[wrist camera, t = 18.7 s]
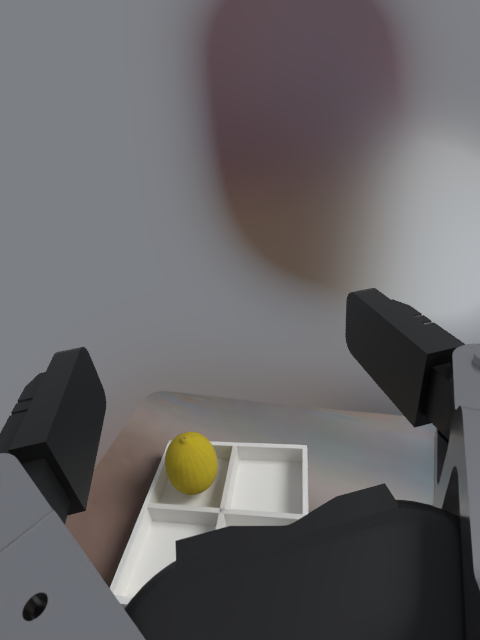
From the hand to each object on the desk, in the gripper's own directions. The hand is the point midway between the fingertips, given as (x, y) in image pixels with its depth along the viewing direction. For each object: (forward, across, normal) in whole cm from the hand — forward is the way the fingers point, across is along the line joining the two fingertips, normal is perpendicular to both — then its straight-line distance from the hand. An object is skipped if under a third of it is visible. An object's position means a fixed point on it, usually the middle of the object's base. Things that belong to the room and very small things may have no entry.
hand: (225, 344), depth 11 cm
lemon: (+17, +5, +30) cm, 35 cm away
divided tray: (+12, +2, +30) cm, 32 cm away
